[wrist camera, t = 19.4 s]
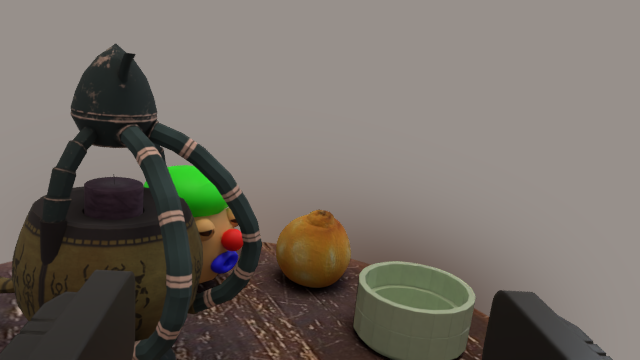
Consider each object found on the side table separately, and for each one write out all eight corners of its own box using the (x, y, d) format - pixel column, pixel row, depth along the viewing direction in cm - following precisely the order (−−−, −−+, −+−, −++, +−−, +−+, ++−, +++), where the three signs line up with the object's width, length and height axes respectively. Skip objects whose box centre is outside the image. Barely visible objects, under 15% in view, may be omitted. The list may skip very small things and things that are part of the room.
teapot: (166, 474, 29) (183, 55, 24) (-132, 352, 37) (-172, 12, 31) (259, 363, 40) (286, 61, 35) (16, 287, 48) (6, 28, 42)
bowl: (470, 325, 50) (479, 277, 49) (458, 383, 41) (469, 326, 39) (369, 298, 53) (375, 253, 52) (337, 346, 44) (344, 292, 43)
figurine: (111, 286, 50) (113, 166, 47) (176, 255, 59) (181, 152, 56) (208, 320, 46) (216, 190, 43) (263, 281, 55) (272, 171, 52)
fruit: (361, 282, 51) (355, 204, 53) (280, 286, 50) (276, 206, 52) (346, 289, 59) (341, 220, 61) (275, 293, 58) (272, 222, 60)
